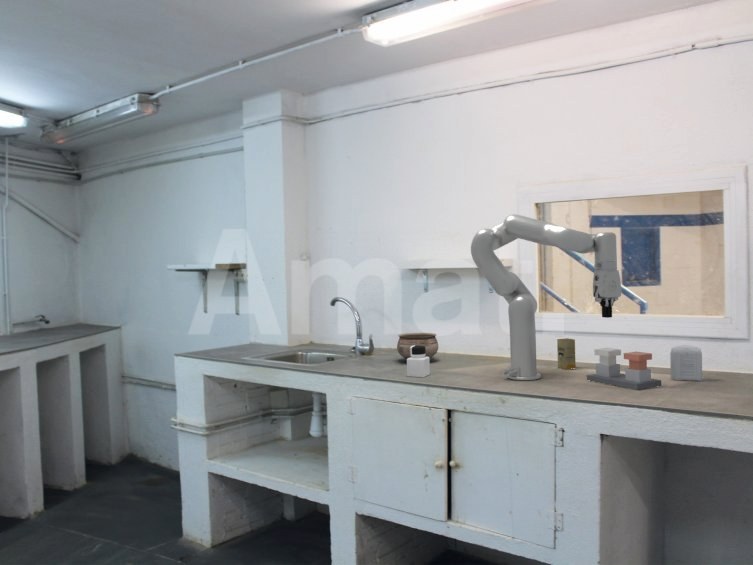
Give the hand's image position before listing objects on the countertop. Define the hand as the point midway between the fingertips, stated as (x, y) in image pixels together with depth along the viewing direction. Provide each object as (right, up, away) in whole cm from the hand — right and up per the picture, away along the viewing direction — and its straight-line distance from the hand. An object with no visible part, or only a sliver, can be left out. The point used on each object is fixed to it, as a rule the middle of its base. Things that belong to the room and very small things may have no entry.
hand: (607, 317), depth 226 cm
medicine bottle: (-67, -25, +23) cm, 75 cm away
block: (+4, -23, -5) cm, 24 cm away
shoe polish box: (-6, -23, +28) cm, 37 cm away
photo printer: (+27, -23, -3) cm, 35 cm away
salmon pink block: (+7, -18, -11) cm, 22 cm away
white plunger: (+1, -18, 0) cm, 18 cm away
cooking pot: (-64, -24, +59) cm, 91 cm away
